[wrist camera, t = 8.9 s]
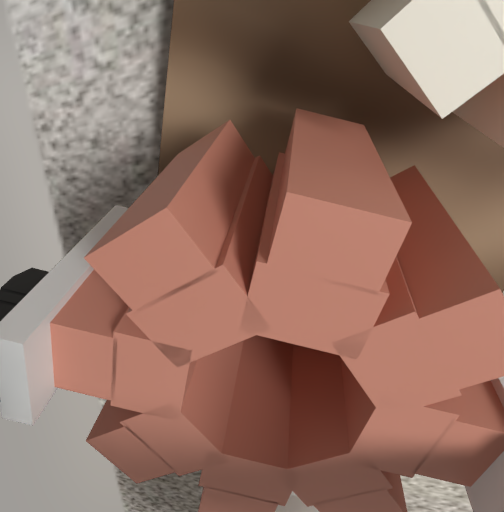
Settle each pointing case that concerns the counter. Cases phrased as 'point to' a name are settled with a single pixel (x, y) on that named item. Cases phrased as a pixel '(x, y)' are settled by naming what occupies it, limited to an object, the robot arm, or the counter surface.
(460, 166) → the gear board
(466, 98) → the gear
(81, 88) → the counter surface
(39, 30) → the counter surface
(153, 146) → the counter surface
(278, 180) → the gear
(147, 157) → the counter surface
